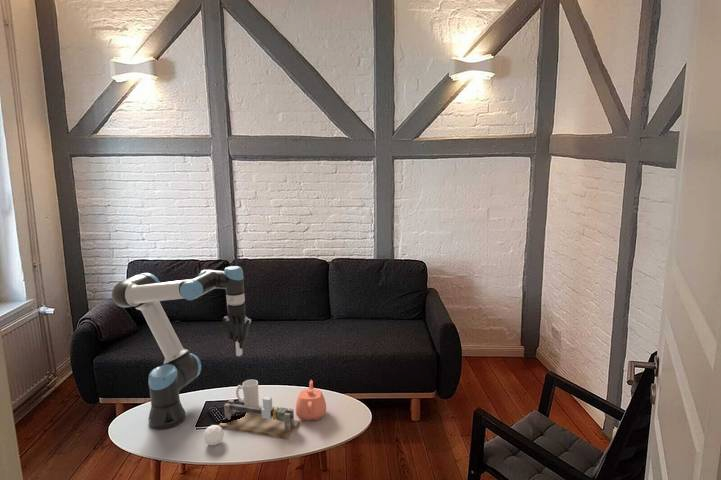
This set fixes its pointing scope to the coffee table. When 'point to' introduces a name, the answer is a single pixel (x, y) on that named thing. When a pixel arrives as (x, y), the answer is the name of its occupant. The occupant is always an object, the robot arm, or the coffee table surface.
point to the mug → (249, 393)
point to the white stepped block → (267, 408)
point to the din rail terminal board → (261, 421)
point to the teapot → (310, 404)
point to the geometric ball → (213, 434)
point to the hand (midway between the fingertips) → (239, 354)
